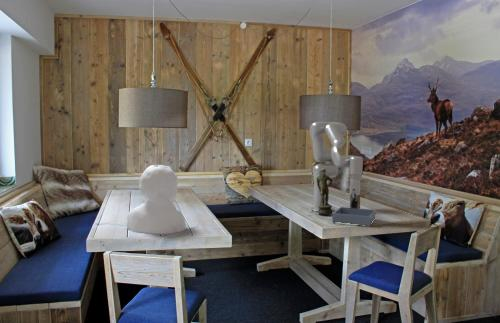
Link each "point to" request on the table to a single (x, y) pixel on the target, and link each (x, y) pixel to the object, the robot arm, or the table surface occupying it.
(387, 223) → the table surface
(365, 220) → the slate bin
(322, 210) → the statue
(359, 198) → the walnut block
